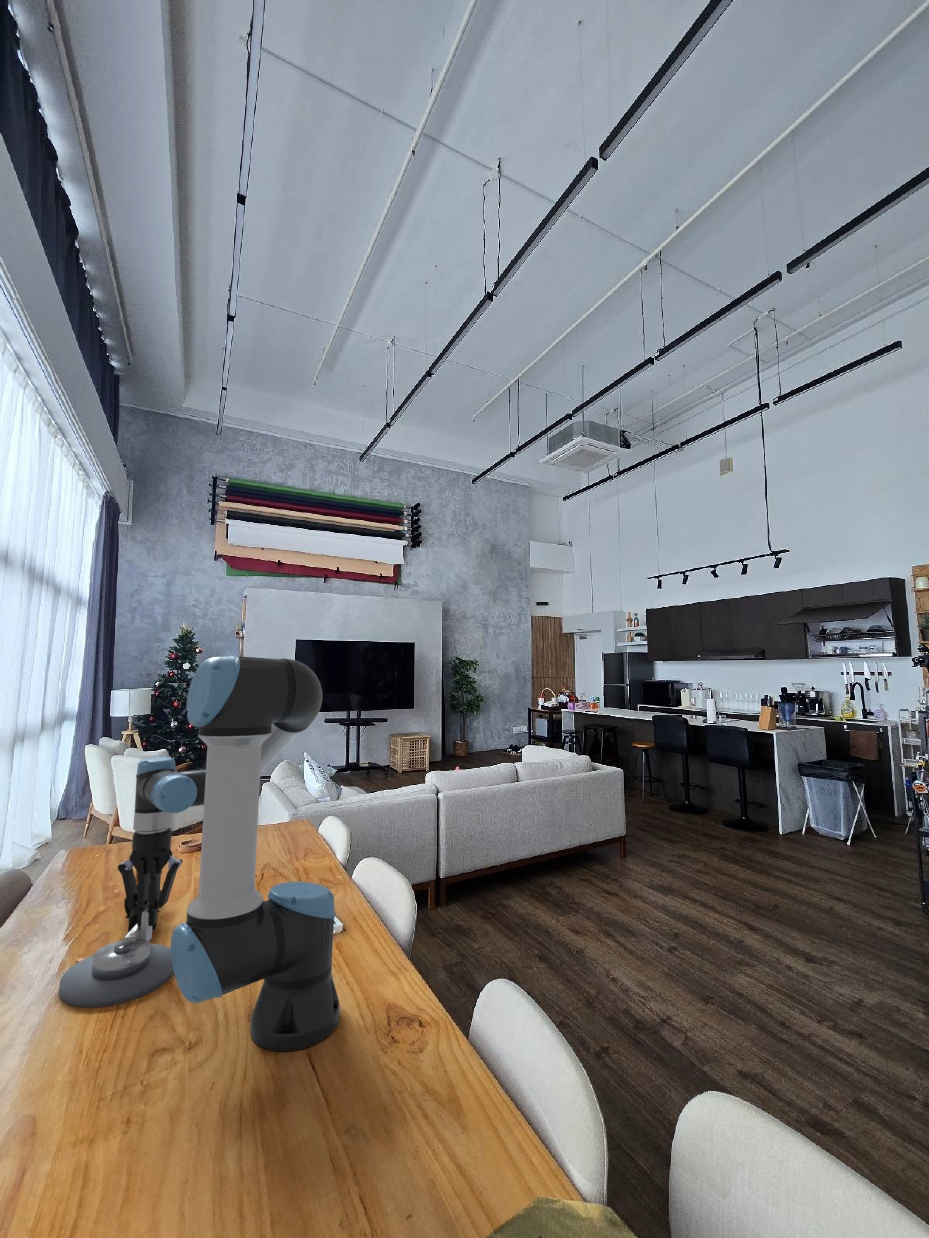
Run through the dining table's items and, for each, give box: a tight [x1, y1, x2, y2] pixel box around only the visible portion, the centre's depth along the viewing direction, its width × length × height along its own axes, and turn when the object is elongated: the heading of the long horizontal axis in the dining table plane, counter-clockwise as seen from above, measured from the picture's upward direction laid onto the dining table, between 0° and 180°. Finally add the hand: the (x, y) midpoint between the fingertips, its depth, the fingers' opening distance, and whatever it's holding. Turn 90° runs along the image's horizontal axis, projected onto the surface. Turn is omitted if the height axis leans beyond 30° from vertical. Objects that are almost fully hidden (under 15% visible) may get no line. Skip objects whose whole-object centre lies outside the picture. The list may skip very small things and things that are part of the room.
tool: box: [123, 869, 162, 934], centre depth 136 cm, size 8×23×15 cm, turn 31°
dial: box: [91, 924, 152, 980], centre depth 113 cm, size 16×10×4 cm, turn 12°
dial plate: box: [58, 943, 175, 1009], centre depth 112 cm, size 22×22×2 cm
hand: (145, 940), depth 119 cm, fingers closed
